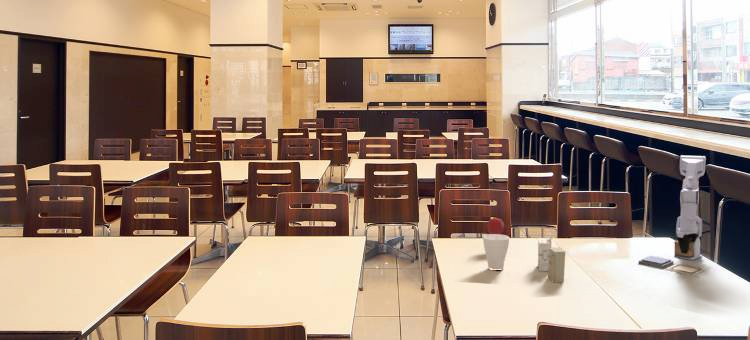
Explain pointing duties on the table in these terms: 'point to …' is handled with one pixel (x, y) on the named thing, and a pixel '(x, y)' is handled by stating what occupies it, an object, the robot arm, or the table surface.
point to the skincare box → (556, 264)
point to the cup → (496, 249)
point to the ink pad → (656, 262)
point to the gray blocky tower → (543, 253)
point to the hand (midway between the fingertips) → (686, 252)
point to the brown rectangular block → (679, 254)
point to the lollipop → (495, 226)
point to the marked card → (685, 269)
